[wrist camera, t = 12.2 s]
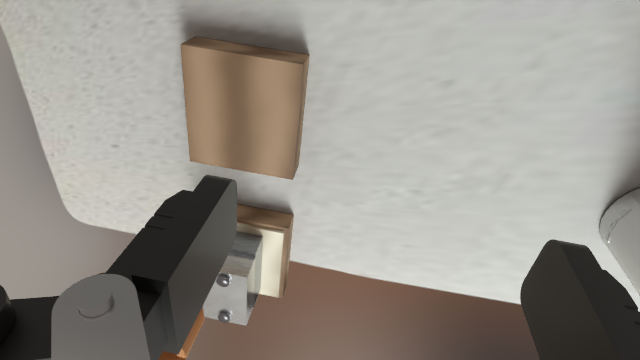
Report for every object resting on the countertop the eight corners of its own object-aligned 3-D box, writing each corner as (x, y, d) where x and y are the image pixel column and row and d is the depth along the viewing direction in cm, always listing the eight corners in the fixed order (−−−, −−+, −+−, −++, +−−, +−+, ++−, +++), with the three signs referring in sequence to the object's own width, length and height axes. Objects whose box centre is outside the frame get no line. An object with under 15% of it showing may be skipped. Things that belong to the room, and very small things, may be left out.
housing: (263, 235, 45) (246, 277, 40) (260, 288, 50) (245, 331, 45) (221, 227, 46) (198, 267, 40) (222, 280, 51) (202, 322, 45)
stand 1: (309, 55, 36) (303, 64, 34) (298, 165, 43) (292, 179, 40) (194, 36, 37) (180, 44, 34) (201, 147, 44) (190, 161, 41)
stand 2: (293, 214, 47) (288, 231, 44) (286, 283, 53) (281, 300, 51) (204, 198, 48) (194, 213, 45) (208, 267, 54) (200, 284, 52)
